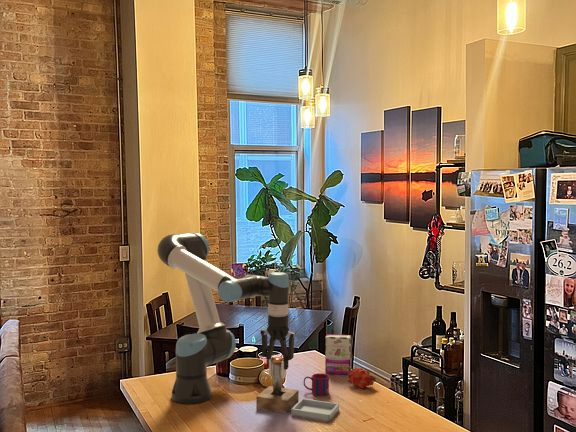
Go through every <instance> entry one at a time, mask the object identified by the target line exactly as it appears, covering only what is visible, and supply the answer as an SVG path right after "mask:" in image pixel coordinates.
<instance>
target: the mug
mask: <svg viewBox="0 0 576 432" xmlns="http://www.w3.org/2000/svg"><path fill="white" fill-rule="evenodd" d="M306 379H310V380H311V387H308V386H307V385H306ZM303 386H304V388H306V390H309V391H311V394H312V395H314V396H318V397H324V396H325V397H326V396H327V395H329V393H330V375H329V374H326V373H313V374H312V376H305V377H304V379H303Z"/></svg>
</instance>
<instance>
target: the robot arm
mask: <svg viewBox="0 0 576 432" xmlns="http://www.w3.org/2000/svg"><path fill="white" fill-rule="evenodd" d="M209 251H210V245H209V241H208V240H207V238H206V237H205V235H203V234H201V233H198V232H186V233H175V234H174V233H173V234H168V235H165V236H164V237H163V238H161V240H160V241H159V242H158V246H157V256H158V257H159V259H160V261H161V262H162V263H163V264H165V265H166V266H168V267H169V268H171V269H178V270H179V271H181V272H183V273H184V274H185V279H186V281H187V286H188V290H189V293H190V297H191V300H192V301H191V302H192V304H193V308H194V311H195V315H196V319H197V323H198V326H199V328H198V331H197V332H196V333H192V334H191V333H189V334H185V335H183V336H181V337H179V338H178V339H177V341H176V344H175V380H174V382H173V386H172V390H171V400H172V401H173V402H175V403H179V404H187V405H188V404H189V405H191V404H200V403H204V402H206V401H208V400H210V399H211V398H212V389H211V386H210V382H209V380H208V376H207V373H208V372H207V368H208V367H207V366H211V365H213V364H217V363H220V362H223V361H225V360H226V359H229V358H230V357H232V355H233V354H234V352H235V350H236V345H237V344H236V341H237V340H236V338H235V335H234V334H233V332H231V330H229V329H227V328H226V324H224V323H223V322H221V320H220V316H219V312H218V309H217V305H216V301H215V297H214V293H213V292H212V291H213V290H214V291H215V292H217V293H218V297H220V299H221V300H222V301H223V302H225V303H234V302H237V301H241V300H244V299H249V298H253V297H264V298H267V303H268V304H267V305H268V306H267V307H268V309H267V312H268V316H267V327H266V328H263V329H262V330H260V332H259V333H260V336H261V356H262V357H263V358H266V367H267V368H268V377H269V378H271V377H273V362H272V358H273V352H274V347H275V344H276V341H277V340H278V341H279V343H280V348H281V352H282V353H281V354H282V358H283V359H284V360H283V361H282V371H281V379H282V380H284V379H286V377H287V370H288V369H289V361H291V360H292V359H294V357H295V355H294V354H295V352H294V351H295V338H296V336H297V334H296V332H295V331H294V332H292V331H290V329H289V315H288V314H289V293H290V283H289V281H290V280H289V279H290V278H289V274H288V273H287V272H282V271H278V272H277V271H273V272H270V273H268V276H263V275H257V274H246V275H244V276H243V277H241V278H235V277H234V276H232V275H230V274H228V273H227V272H225V271H223V270H221V269H220V268H218V267H216V266H214V265H212V264H210V263H209V262H208V258H207V257H208V256H209ZM268 335H269V336H270V337H269V344H268ZM287 337H288V345H287Z"/></svg>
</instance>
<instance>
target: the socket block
mask: <svg viewBox="0 0 576 432" xmlns="http://www.w3.org/2000/svg"><path fill="white" fill-rule="evenodd" d="M299 392H300V391H299V390H298V389H292V388H287V387H282V393H281V394H278V395H276V394H273V385H269V386H268V387H266V388H265V389H264V390H263V391H261V392H260V393H259V394H258V395H256V402H255V403H256V405H255V406H256V409H257V410H265V411H270V412H271V411H272V412H277V413H282V414H288V413H289V412H290V411H291V409H292V408H293V407H294V406H295V405H296V404H297V403H298V402H299V401H300V400H299Z"/></svg>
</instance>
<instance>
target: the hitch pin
mask: <svg viewBox="0 0 576 432" xmlns="http://www.w3.org/2000/svg"><path fill="white" fill-rule="evenodd" d="M271 358H272V362H273V376H272V386H273V394H276V395H278V394H281V393H282V388H283V385H282V384H283V383H282V382H283V381H282V380H283V379H281V371H282V361H283V360H284V359H283V356H274V357H273V356H272V357H271Z"/></svg>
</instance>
